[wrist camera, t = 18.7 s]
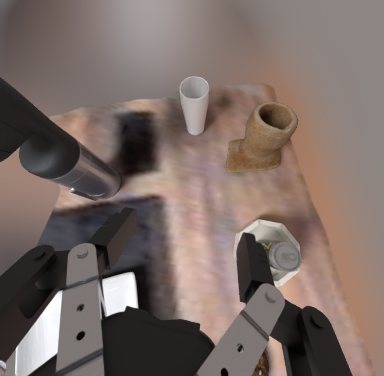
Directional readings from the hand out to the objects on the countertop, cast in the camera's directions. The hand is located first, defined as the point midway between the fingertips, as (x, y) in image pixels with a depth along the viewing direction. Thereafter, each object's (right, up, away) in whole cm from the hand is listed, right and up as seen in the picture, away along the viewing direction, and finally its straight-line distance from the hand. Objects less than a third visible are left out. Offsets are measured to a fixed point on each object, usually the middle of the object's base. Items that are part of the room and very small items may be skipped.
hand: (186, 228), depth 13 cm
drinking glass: (+2, +21, +40) cm, 45 cm away
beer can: (+17, -12, +29) cm, 36 cm away
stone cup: (+17, +13, +37) cm, 43 cm away
